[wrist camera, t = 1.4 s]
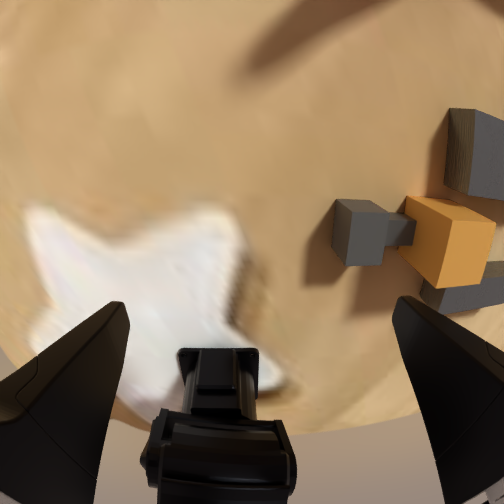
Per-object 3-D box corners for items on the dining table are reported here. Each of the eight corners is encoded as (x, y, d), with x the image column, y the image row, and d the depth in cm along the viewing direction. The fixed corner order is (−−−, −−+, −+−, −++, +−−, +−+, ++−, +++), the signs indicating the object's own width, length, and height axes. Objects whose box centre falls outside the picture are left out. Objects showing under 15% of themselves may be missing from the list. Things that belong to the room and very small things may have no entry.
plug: (439, 251, 21) (479, 283, 16) (330, 253, 21) (358, 294, 16) (450, 199, 19) (496, 223, 14) (336, 191, 19) (371, 216, 14)
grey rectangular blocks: (495, 287, 23) (512, 301, 20) (419, 296, 23) (436, 315, 20) (525, 137, 17) (547, 142, 14) (449, 108, 16) (475, 109, 14)
